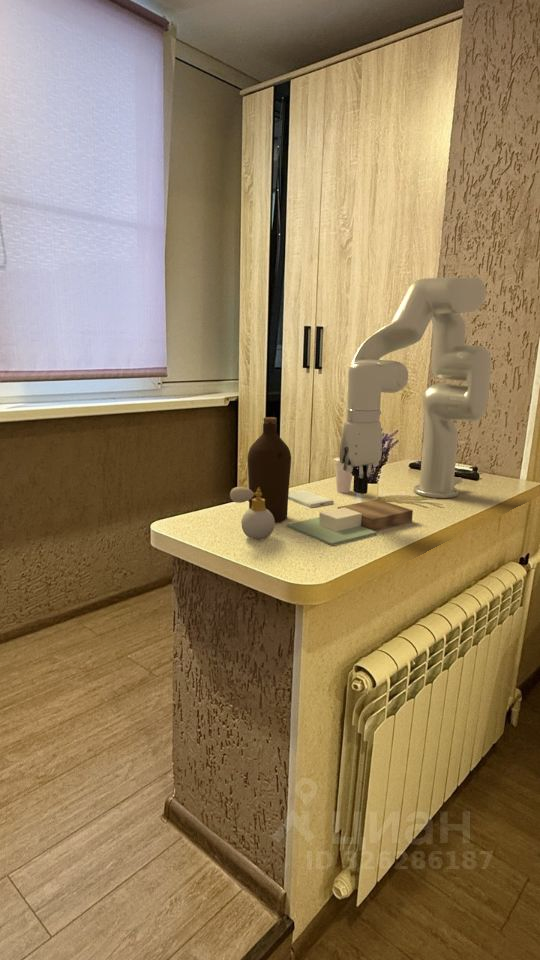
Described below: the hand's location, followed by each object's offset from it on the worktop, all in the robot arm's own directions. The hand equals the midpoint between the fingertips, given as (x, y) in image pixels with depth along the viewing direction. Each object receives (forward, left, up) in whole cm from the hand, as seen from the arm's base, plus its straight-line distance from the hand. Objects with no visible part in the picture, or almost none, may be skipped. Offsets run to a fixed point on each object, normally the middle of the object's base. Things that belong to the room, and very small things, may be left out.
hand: (360, 492), depth 144 cm
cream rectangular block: (+6, 0, -7) cm, 9 cm away
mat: (+9, 0, -8) cm, 12 cm away
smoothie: (-18, -25, -8) cm, 32 cm away
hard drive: (-3, -23, -9) cm, 25 cm away
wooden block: (-5, 0, -8) cm, 9 cm away
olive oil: (+16, -16, -8) cm, 24 cm away
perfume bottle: (+28, -5, -8) cm, 29 cm away
